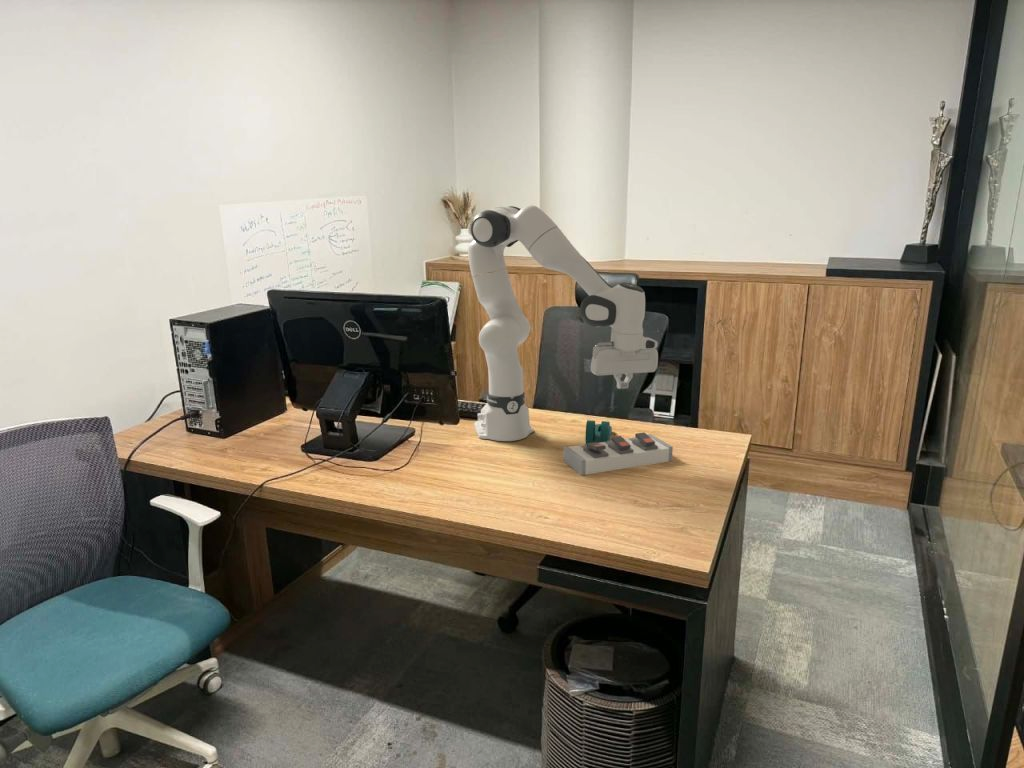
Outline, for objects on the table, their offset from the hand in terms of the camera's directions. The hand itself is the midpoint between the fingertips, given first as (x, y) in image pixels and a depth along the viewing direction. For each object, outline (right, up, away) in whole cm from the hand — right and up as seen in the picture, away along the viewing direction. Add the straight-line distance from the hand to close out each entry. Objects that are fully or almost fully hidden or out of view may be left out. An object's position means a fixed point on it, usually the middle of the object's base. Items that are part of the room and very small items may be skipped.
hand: (622, 388), depth 202 cm
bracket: (-4, -17, +21) cm, 27 cm away
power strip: (-1, -21, +2) cm, 21 cm away
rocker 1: (-8, -17, -4) cm, 19 cm away
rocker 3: (+7, -15, +2) cm, 16 cm away
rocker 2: (-1, -16, -1) cm, 16 cm away
